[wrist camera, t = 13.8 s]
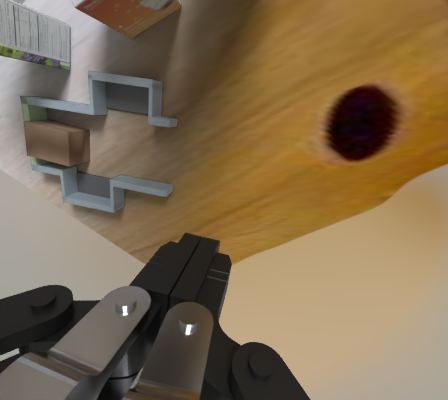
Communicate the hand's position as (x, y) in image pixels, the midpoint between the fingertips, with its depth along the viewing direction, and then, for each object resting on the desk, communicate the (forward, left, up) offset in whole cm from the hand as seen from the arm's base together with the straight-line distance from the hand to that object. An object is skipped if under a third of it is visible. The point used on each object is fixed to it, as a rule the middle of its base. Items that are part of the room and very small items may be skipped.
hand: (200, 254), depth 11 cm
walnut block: (+3, -29, -26) cm, 39 cm away
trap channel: (+2, -22, -26) cm, 34 cm away
